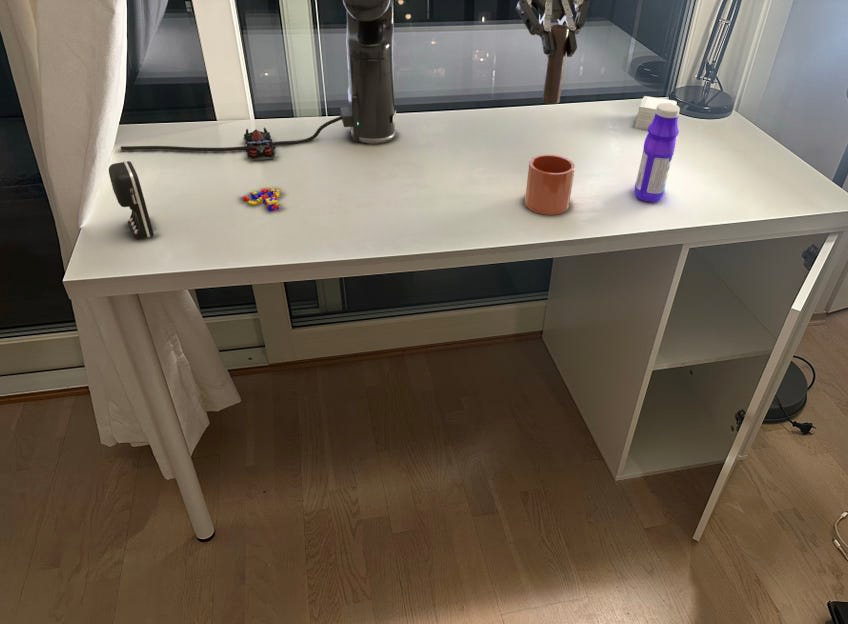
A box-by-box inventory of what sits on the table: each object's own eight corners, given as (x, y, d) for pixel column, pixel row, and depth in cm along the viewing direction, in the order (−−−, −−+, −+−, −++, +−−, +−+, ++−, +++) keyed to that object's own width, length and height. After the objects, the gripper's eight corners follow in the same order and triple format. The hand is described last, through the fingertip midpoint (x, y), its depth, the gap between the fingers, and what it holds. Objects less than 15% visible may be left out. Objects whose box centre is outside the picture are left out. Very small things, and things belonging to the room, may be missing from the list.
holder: (533, 216, 128) (538, 176, 123) (519, 195, 134) (523, 156, 129) (575, 213, 130) (581, 172, 125) (559, 192, 136) (564, 153, 131)
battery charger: (123, 223, 120) (103, 160, 113) (146, 219, 122) (128, 156, 114) (131, 243, 116) (111, 178, 108) (155, 237, 117) (137, 174, 110)
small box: (639, 116, 168) (644, 95, 165) (672, 122, 167) (677, 100, 163) (633, 128, 163) (638, 106, 159) (668, 134, 161) (673, 112, 158)
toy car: (246, 162, 140) (243, 142, 137) (241, 138, 149) (238, 119, 146) (278, 159, 142) (275, 140, 139) (271, 135, 150) (268, 116, 147)
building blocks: (274, 188, 132) (273, 180, 131) (290, 206, 127) (289, 198, 126) (240, 195, 129) (238, 187, 128) (255, 214, 124) (254, 206, 123)
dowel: (545, 104, 130) (554, 30, 122) (539, 98, 133) (548, 24, 124) (561, 103, 131) (572, 29, 123) (555, 97, 133) (565, 24, 125)
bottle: (663, 205, 134) (685, 115, 123) (632, 201, 134) (652, 111, 123) (662, 188, 139) (684, 101, 128) (633, 185, 140) (652, 97, 129)
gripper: (514, -52, 120) (530, 45, 119) (590, -52, 124) (606, 42, 123) (502, -25, 128) (517, 67, 127) (575, -26, 131) (589, 64, 130)
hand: (561, 54), depth 125 cm, fingers closed on dowel, 3 cm apart
